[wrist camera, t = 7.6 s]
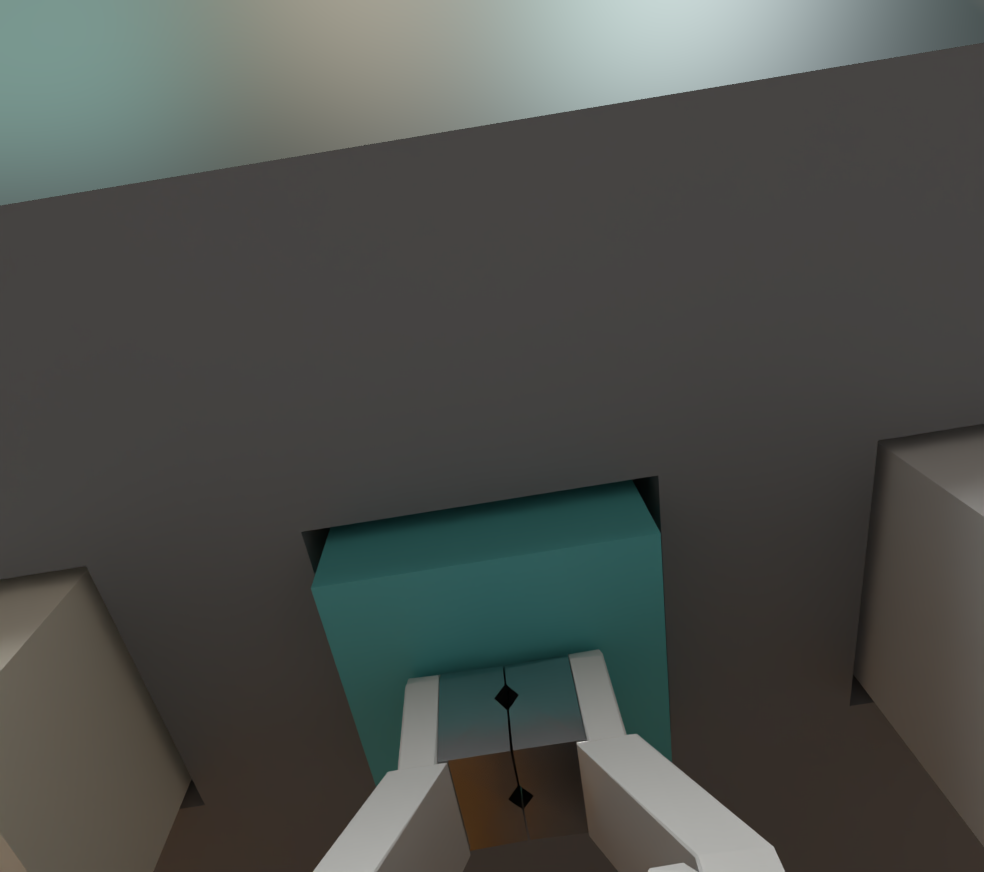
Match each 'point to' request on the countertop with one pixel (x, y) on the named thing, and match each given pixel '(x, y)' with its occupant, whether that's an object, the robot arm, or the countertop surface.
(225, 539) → the button panel
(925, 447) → the light grey push-block
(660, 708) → the teal push-block
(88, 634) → the cream push-block
